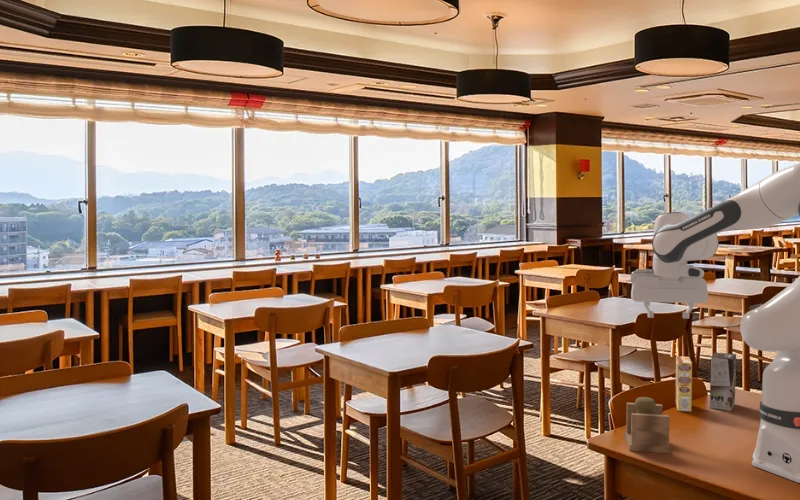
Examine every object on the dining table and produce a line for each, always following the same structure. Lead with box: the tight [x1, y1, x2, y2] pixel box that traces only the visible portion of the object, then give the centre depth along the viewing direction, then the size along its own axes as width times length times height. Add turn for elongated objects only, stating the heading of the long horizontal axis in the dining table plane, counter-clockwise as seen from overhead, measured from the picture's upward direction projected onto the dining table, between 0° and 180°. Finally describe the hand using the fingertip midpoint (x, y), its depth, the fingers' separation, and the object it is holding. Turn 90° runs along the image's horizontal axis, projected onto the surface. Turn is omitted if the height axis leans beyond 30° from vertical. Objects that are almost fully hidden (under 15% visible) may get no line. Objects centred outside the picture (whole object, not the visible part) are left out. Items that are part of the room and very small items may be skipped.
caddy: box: [623, 402, 672, 454], centre depth 177 cm, size 10×11×10 cm
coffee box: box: [709, 352, 737, 412], centre depth 210 cm, size 9×6×16 cm
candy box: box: [675, 355, 693, 413], centre depth 209 cm, size 9×4×15 cm, turn 162°
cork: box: [634, 396, 657, 414], centre depth 177 cm, size 6×6×11 cm
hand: (668, 318), depth 190 cm, fingers open, 8 cm apart
